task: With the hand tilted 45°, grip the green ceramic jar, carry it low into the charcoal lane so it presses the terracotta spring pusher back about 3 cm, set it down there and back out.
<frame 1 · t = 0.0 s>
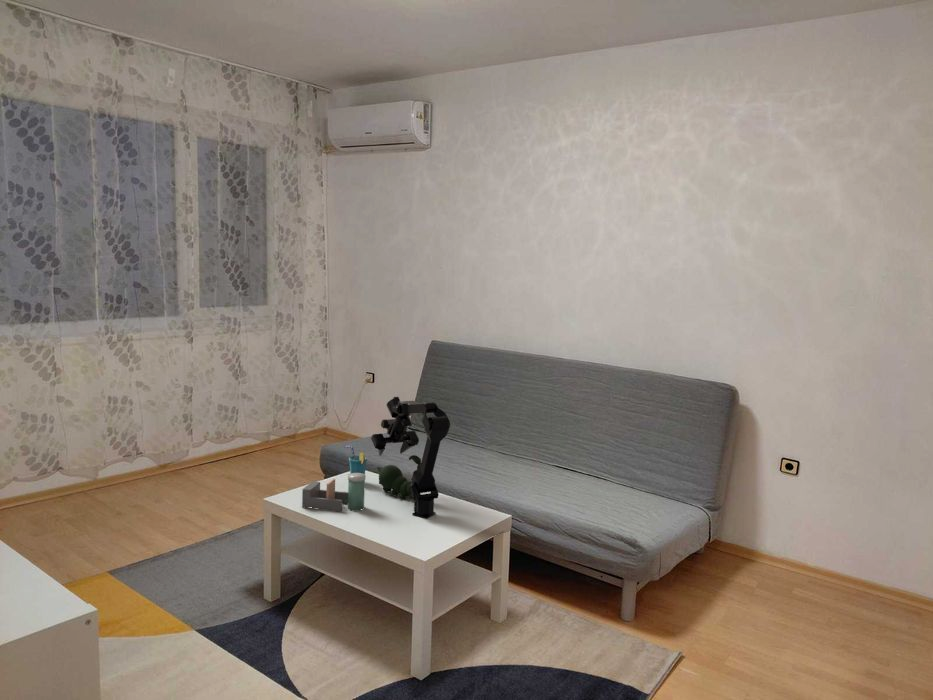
hand: (390, 453, 273), 15 cm above the table, tool tilted 35°, fingers open, 9 cm apart
toy figurine: (399, 495, 268), on the table
pusher plate: (330, 493, 253), point 5 cm above the table, slide at 0.0 cm
pusher lane: (331, 505, 253), on the table
jar: (355, 507, 252), on the table
cup: (356, 483, 282), on the table
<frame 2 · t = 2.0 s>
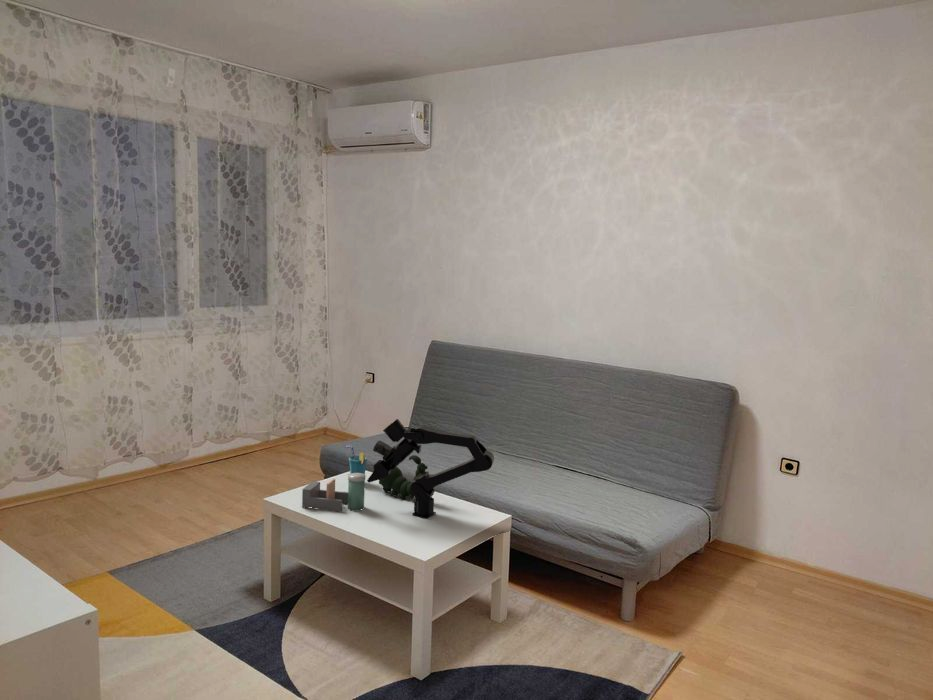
hand: (371, 477, 250), 12 cm above the table, tool tilted 45°, fingers open, 9 cm apart
nothing on the table moved.
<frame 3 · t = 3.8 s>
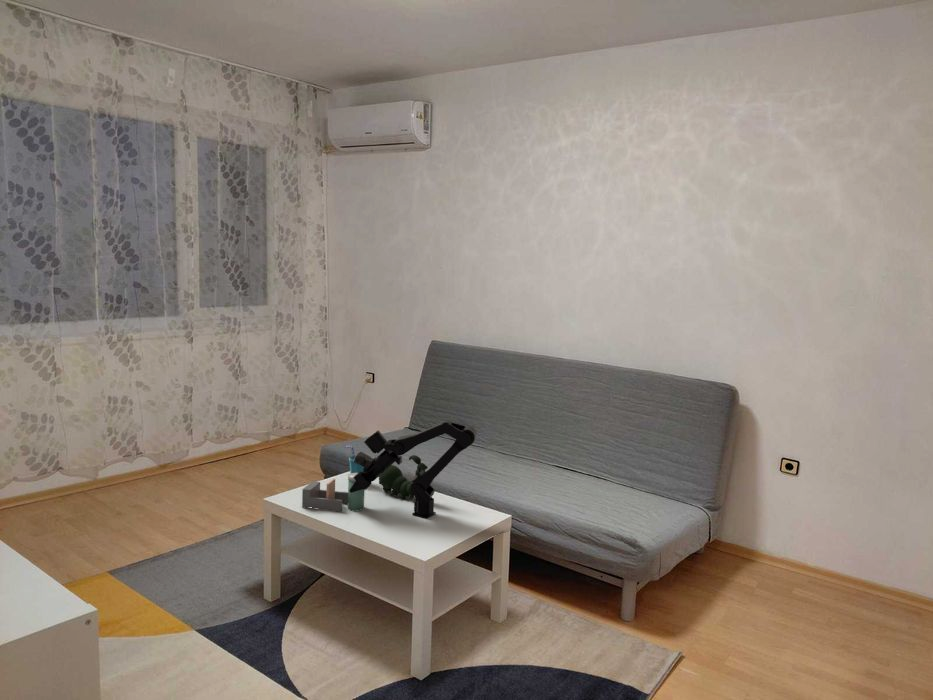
hand: (352, 489, 251), 7 cm above the table, tool tilted 45°, fingers closed on jar, 6 cm apart
jar: (355, 507, 252), on the table, touching gripper
everything else where it was.
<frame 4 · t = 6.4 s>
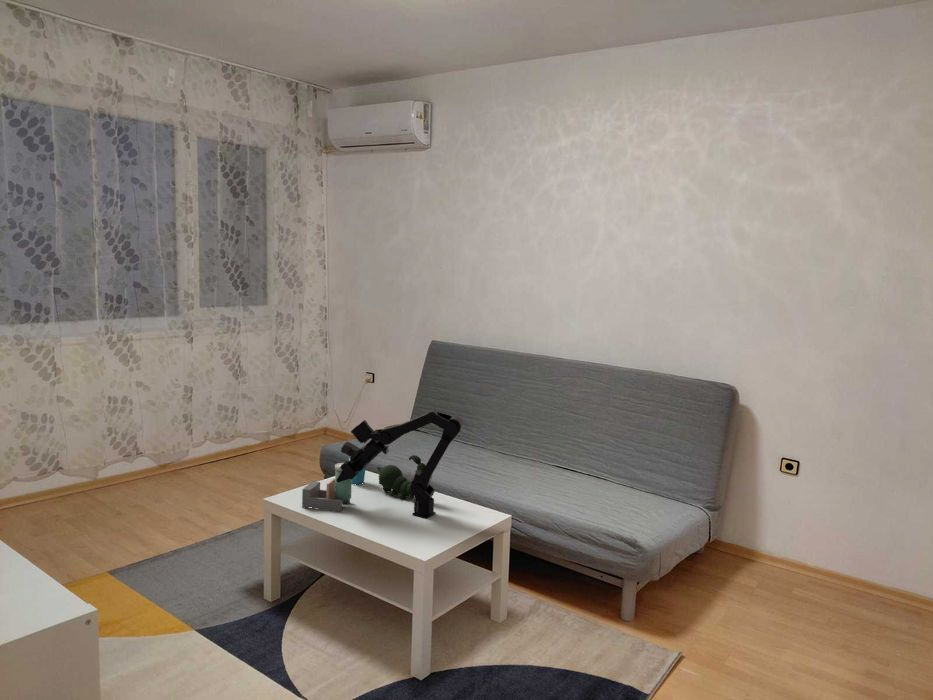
hand: (339, 478, 252), 11 cm above the table, tool tilted 45°, fingers closed on jar, 6 cm apart
jar: (343, 497, 252), point 3 cm above the table, touching gripper
everything else where it was.
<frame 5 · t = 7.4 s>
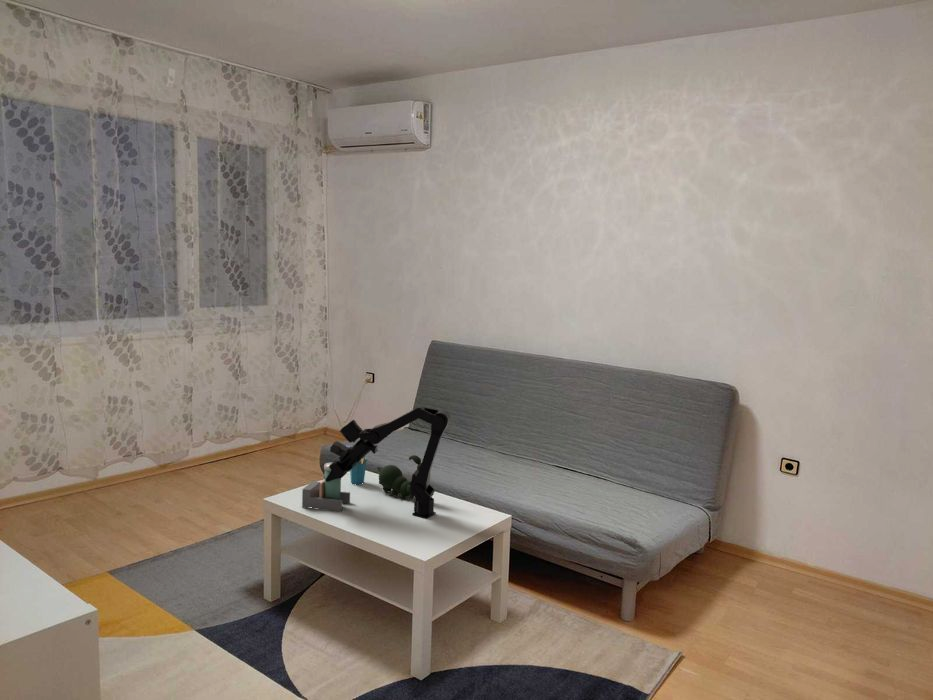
hand: (329, 478, 252), 10 cm above the table, tool tilted 45°, fingers closed on jar, 6 cm apart
pusher plate: (323, 492, 253), point 5 cm above the table, slide at 2.7 cm
jar: (332, 497, 253), point 3 cm above the table, touching gripper
everything else where it was.
when the fingers open (8 cm above the table, at t = 9.1 s): jar stays where it is, on the table.
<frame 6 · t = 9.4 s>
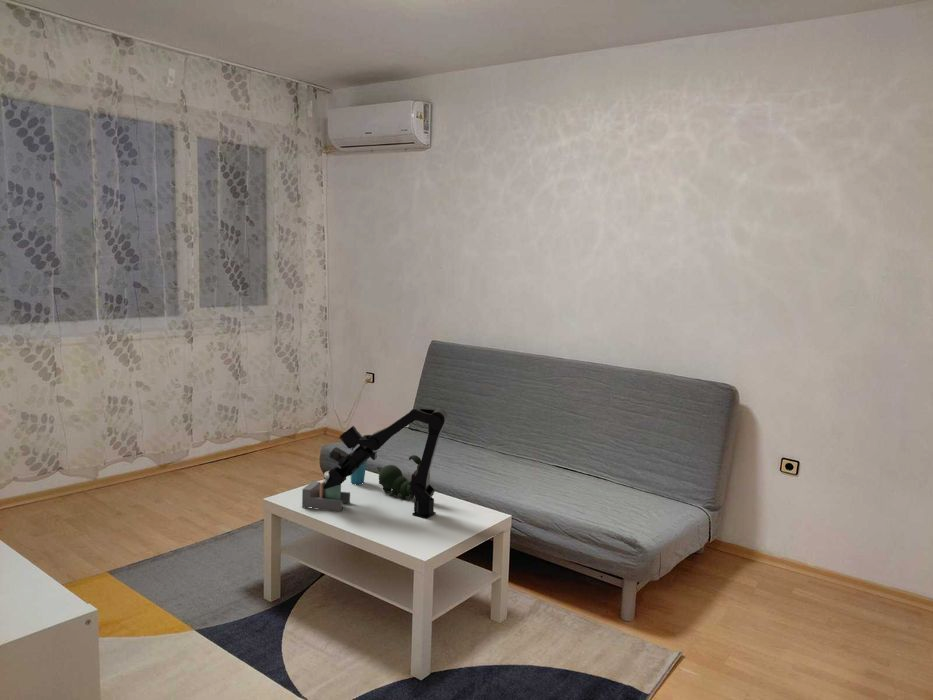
hand: (328, 484, 253), 8 cm above the table, tool tilted 45°, fingers open, 9 cm apart
jar: (332, 505, 253), on the table
everything else where it was.
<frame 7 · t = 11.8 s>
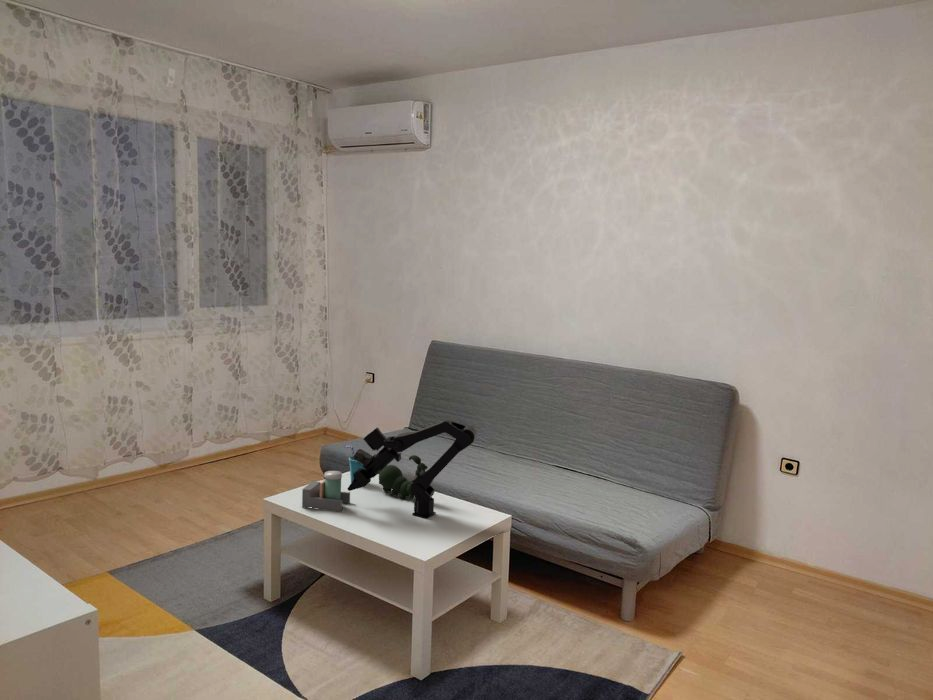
hand: (352, 486, 251), 8 cm above the table, tool tilted 45°, fingers open, 9 cm apart
pusher plate: (324, 492, 253), point 5 cm above the table, slide at 2.6 cm, touching jar
jar: (332, 505, 253), on the table, touching pusher plate
everything else where it was.
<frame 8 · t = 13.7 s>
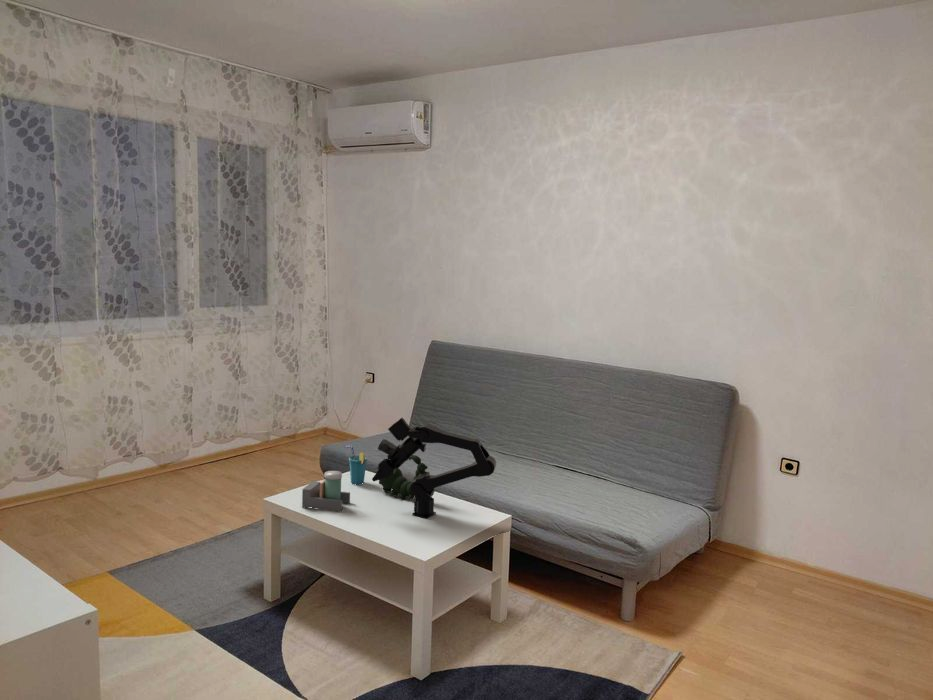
hand: (376, 476, 249), 13 cm above the table, tool tilted 45°, fingers open, 9 cm apart
pusher plate: (324, 492, 253), point 5 cm above the table, slide at 2.6 cm
jar: (332, 505, 253), on the table
everything else where it was.
at the end: jar inside the target area (0.6 cm from its centre), on the table; pusher plate slide at 2.6 cm; jar tilted 0° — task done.
